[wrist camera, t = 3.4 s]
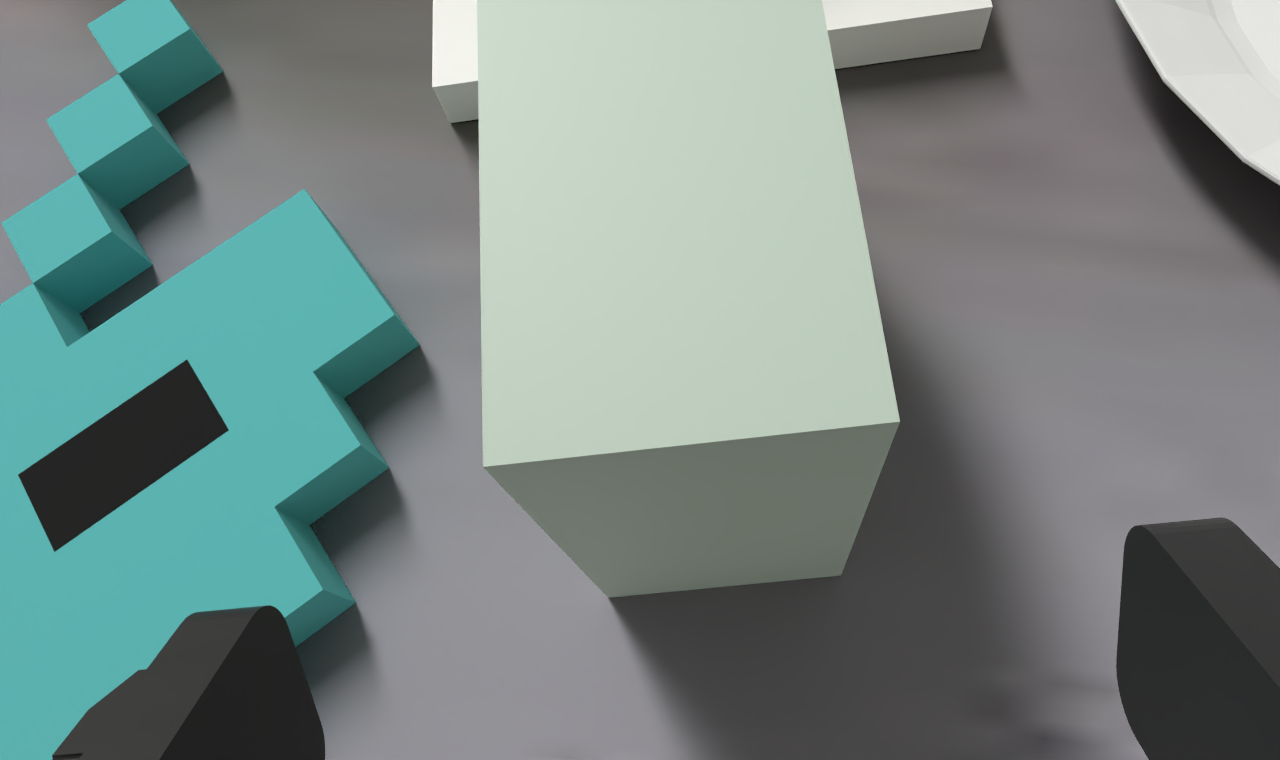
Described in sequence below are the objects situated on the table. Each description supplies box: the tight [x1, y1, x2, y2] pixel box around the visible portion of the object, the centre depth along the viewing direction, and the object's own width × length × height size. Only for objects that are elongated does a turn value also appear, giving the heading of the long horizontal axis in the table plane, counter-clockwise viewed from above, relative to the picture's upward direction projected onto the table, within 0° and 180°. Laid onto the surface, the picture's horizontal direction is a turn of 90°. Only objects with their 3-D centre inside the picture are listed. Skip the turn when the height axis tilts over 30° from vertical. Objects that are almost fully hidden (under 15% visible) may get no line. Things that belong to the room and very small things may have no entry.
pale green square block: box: [477, 0, 900, 598], centre depth 18 cm, size 5×10×10 cm, turn 4°
